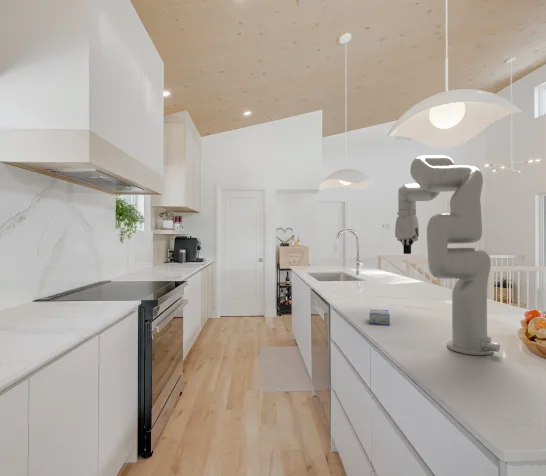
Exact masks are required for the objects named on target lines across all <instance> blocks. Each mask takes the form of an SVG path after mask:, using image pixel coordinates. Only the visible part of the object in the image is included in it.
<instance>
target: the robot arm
mask: <svg viewBox="0 0 546 476" xmlns="http://www.w3.org/2000/svg"><path fill="white" fill-rule="evenodd" d="M409 172H410V175H411V177H412V179H413V180H414V182H415V183H405V184H403V185H402V186H401V187H399V188H398V193H397V195H398V197H397V199H398V203H397V204H398V205H397V206H398V208H397V209H398V210H397V212H396V214H397V215H398V216H397V217H396V220H395V227H394V236H395V239H396V240H397V241H398V242H401V244H402V246H403V254H404V255H411V254H412V245H413V244H414V242H417V241H418V240H419V239H418V238H419V236H420V229H419V227H420V226H419V220H418V216H417V202H428V201H429V202H430V201H432V200H434V199H435V198H437V197H438V196H439V194H440V193H441V192H454V193H453V194H452V195H451V197H450V201H449V207H450V212H449V213H436V214H434V215H432V216H431V217H430V218H429V220H428V222H427V226H426V243H427V261H428V262H427V263H428V269H429V273H430V274H431V276H432V277H434V278H436V279H446V280H447V279H449V280H450V279H452V280H454V279H455V280H456V279H458V280H457V281H456V283H455V284H454V286H453V289H452V291H451V292H452V293H451V306H452V307H451V309H452V310H451V317H452V318H451V321H452V322H451V324H452V326H451V327H452V333H451V334H452V335H451V336H452V339H450V340H448V341H447V342H446V346H447V348H448V349H449V350H452V351H453V352H457V353H460V354H465V355H472V356H489V355H492V354H493V353H494V352H496V353H498V352H500V348H501V345H500V343H497V342H492V337H490V336H488V281H489V277H490V272H491V267H492V264H491V262H492V260H491V257H490V255H489V254H488V253H487V252H486V251H485V250H484V249H481V248H477V247H448V244H450V245H451V244H452V245H453V244H455V245H456V244H460V245H461V244H473V243H477V242H479V241H480V240H481V239H482V236H483V219H482V205H481V197H482V196H481V195H482V191H483V189H482V188H483V183H484V178H483V174H482V172H481V170H480V168H478V167H476V166H472V165H455V163H454V160H453V159H452V158H451V157H449V156H446V155H419V156H417V157H416V158H414V159H413V161H412V162H411V164H410V171H409Z"/></svg>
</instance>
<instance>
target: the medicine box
mask: <svg viewBox="0 0 546 476" xmlns="http://www.w3.org/2000/svg"><path fill="white" fill-rule="evenodd" d="M371 324H372V325H384V326H385V325H387V326H391V314H390V310H389V309H369V325H371Z"/></svg>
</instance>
